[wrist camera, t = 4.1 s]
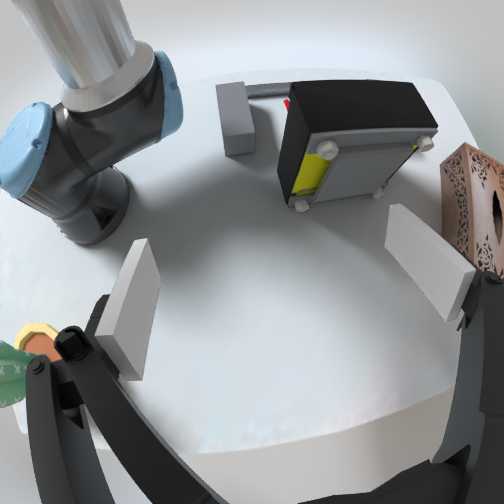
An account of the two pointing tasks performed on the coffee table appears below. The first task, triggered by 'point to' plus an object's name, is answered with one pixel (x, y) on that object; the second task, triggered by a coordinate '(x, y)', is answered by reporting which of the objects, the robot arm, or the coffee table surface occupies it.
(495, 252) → the tissue box cover
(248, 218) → the coffee table surface
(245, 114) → the block
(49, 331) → the potted cactus
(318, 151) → the electrical component
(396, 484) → the robot arm
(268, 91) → the metal rail
